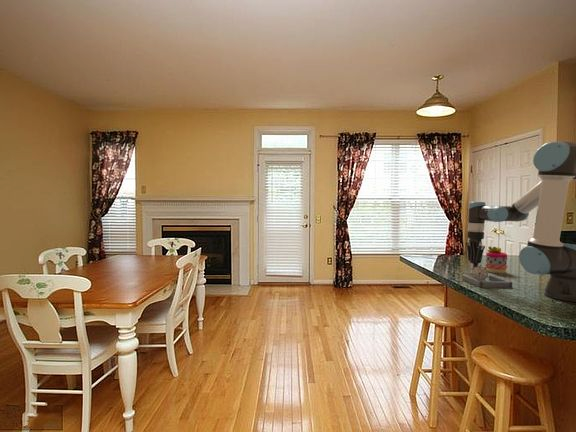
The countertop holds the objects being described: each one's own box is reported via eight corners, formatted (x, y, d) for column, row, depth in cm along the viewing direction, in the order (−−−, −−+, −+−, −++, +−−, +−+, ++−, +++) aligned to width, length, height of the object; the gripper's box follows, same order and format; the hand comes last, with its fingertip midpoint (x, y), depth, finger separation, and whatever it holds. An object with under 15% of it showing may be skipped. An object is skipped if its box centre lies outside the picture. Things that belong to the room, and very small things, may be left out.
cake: (489, 269, 198) (490, 244, 198) (509, 272, 190) (510, 246, 190) (482, 271, 192) (483, 245, 191) (503, 274, 184) (504, 248, 183)
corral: (512, 287, 155) (512, 282, 155) (480, 287, 155) (480, 282, 155) (491, 279, 171) (491, 275, 170) (462, 279, 170) (462, 274, 170)
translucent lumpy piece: (482, 288, 167) (496, 276, 161) (467, 281, 167) (480, 269, 161) (479, 276, 174) (492, 264, 168) (464, 269, 174) (477, 257, 168)
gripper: (490, 232, 165) (488, 278, 167) (475, 229, 178) (473, 272, 180) (476, 232, 165) (474, 278, 166) (461, 229, 178) (460, 272, 179)
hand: (473, 275), depth 173 cm, fingers closed
